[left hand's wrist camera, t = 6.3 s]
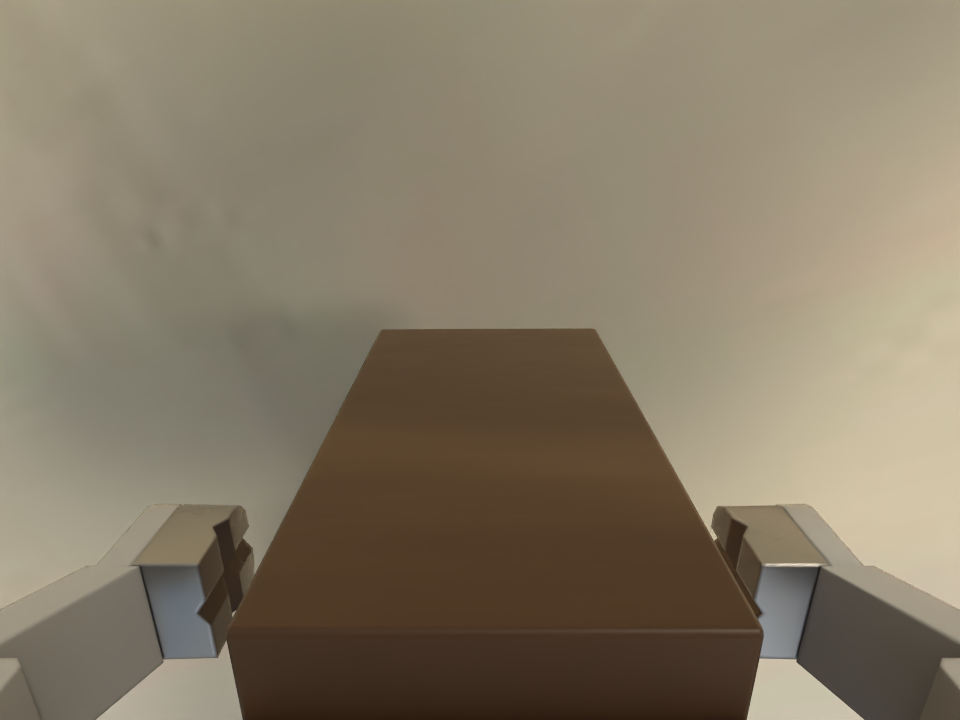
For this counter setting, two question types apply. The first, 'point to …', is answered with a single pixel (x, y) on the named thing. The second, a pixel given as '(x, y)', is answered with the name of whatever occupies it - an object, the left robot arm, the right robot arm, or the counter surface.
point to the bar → (492, 552)
